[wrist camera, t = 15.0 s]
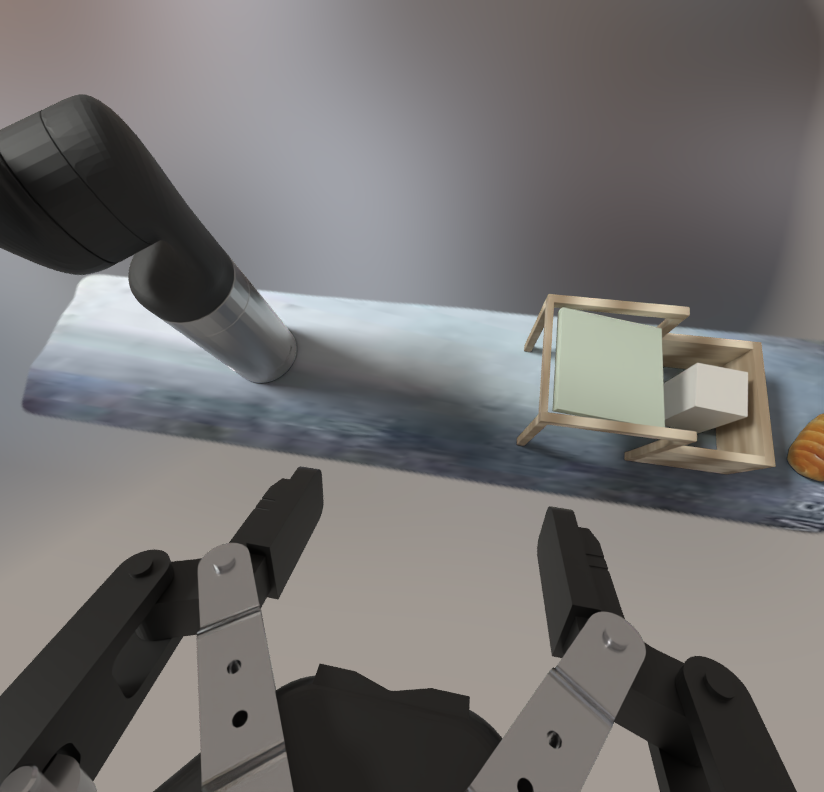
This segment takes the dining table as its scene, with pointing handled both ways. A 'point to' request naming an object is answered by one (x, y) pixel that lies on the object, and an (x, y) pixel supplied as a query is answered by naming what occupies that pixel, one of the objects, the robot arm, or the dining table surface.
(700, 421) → the white rectangular block
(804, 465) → the pastry
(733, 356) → the trapdoor frame
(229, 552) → the robot arm
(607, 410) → the trapdoor
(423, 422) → the dining table surface
